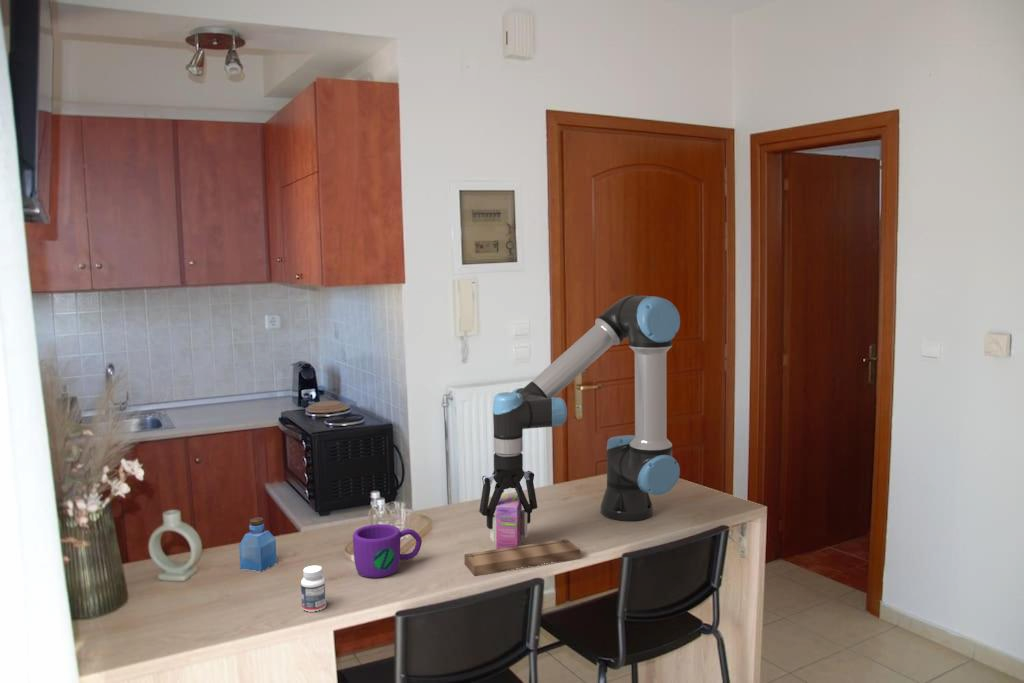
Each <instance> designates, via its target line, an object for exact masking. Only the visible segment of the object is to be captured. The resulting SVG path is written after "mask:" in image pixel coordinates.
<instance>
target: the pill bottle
mask: <svg viewBox="0 0 1024 683" xmlns="http://www.w3.org/2000/svg"><path fill="white" fill-rule="evenodd" d="M302 573H303V574H302V575H303V577H302V579H301V580H300V590H301V591H300V592H301V594H300V595H301V609H302V610H303V611H304V610H305V611H304V612H306V611H308V612H307V613H316V612H315V611H317V612H320V611H323V610H324V609H325V608H326V607H327V593H326V591H327V590H326V578H325V577H324V576H323V568H322V566H321V565H316V564H315V565H309V566H305V567H304V568H303V572H302ZM319 610H320V611H319Z"/></svg>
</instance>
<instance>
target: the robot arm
mask: <svg viewBox="0 0 1024 683" xmlns="http://www.w3.org/2000/svg"><path fill="white" fill-rule="evenodd" d="M680 317H681V316H680V312H679V311H678V309H677V307H676V306H675V305H674V304H673V302H671V301H669V300H668V299H666V298H663V297H660V296H652V295H651V296H650V295H640V294H631V295H628V296H625V297H623V298H621V299H619V300H618V301H616V302H615V303H614V304H612V305H611V306H610V307H609V308H608V309H606V310H605V311H604V312H603V313H601V315H599V316H598V317H597V318H596V319H595V322H594V326H592V327H591V328H590V329H588V331H586V333H584V334H583V335H582V336H581V337H579V339H578V340H576V341H575V342H574V343H573V344H572V345H571V346H570V347H569V348H567V349H566V350H565V351H564V352H563V353H562V354H561V355H559V356H558V357H557V358H556V359H555V360H554V361H553V362H552V363H550V365H548V367H546V368H545V369H544V370H543V371H541V373H540V374H538V375H537V376H536V377H535V378H533V380H531V381H530V382H529V383H528V384H527V385H525V386H524V387H521V388H520V387H519V388H515V389H514V390H512V391H511V392H510V391H509V392H507V391H506V392H499V393H496V395H494V397H493V404H492V417H493V418H492V419H493V421H492V422H493V452H494V454H493V471H492V474H491V475H482V478H481V480H482V490H481V497H480V498H481V499H480V506H479V514H481V515H482V516H483V517H486V527H487V529H489V536H490V537H489V539H490V540H491V541H492V542H494V543H496V515H495V514H496V506H497V505H498V502H499V500H500V497H501V495H503V493H504V491H505V490H508V489H514V490H515V493H516V495H518V497H519V499H520V501H521V504H522V508H523V509H522V510H521V535H522V537H523V538H528V524H531V513H532V512H533V510H537V509H538V502H537V496H536V495H537V494H536V490H535V486H534V479H535V474H534V472H532V471H531V470H527V471H525V470H524V469H523V468H524V467H523V464H524V459H523V458H524V457H523V456H524V455H523V453H522V452H523V451H524V450H523V449H524V447H523V446H524V443H523V441H524V440H523V438H524V437H523V435H524V434H523V430H528V429H539V428H554V427H559V426H563V425H564V424H565V423H566V421H567V417H568V407H567V403H566V401H565V400H564V399H563V398H562V397H556V396H557V395H558V394H559V393H561V391H563V390H564V389H565V388H567V386H569V384H570V383H572V382H573V381H574V380H575V379H576V378H577V377H578V376H580V375H581V373H583V372H584V371H585V370H587V368H588V367H589V366H591V365H592V364H593V363H594V362H595V361H596V360H597V359H598V358H600V357H601V356H602V355H603V354H605V352H606V351H608V349H610V348H611V347H612V346H618V345H620V344H621V343H622V342H623V341H625V340H627V339H628V346H629V348H630V349H631V350H632V351H633V353H634V435H633V434H625V435H616V436H612V437H610V438H608V439H607V443H606V489H605V491H604V494H603V498H602V500H601V503H600V514H601V515H602V516H604V517H605V518H609V519H611V520H616V521H625V522H636V521H642V520H646V519H649V518H650V517H652V515H653V504H652V501H651V497H650V495H653V496H662V495H664V494H667V493H669V492H670V491H671V490H672V489H673V488H674V487H675V486H676V484H677V483H678V481H679V478H680V475H681V474H680V473H681V469H680V464H679V463H678V461H677V459H675V458H674V457H673V443H672V442H671V441H670V440H669V439H668V438H667V436H668V435H667V428H668V427H667V419H668V418H667V414H668V413H667V404H668V403H667V353H668V351H670V349H671V348H672V347H673V339H674V338H675V337H676V334H677V333H678V332H679V331H680V330H679V329H680V326H681V318H680ZM523 478H524V480H525V485H526V491H527V496H526V494H525V492H524V490H523V487H522V485H521V481H522V480H523ZM493 481H494V482H495V485H494V491H493V493H492V495H491V498H490V493H491V485H492V484H493ZM527 497H528V499H527Z"/></svg>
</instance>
